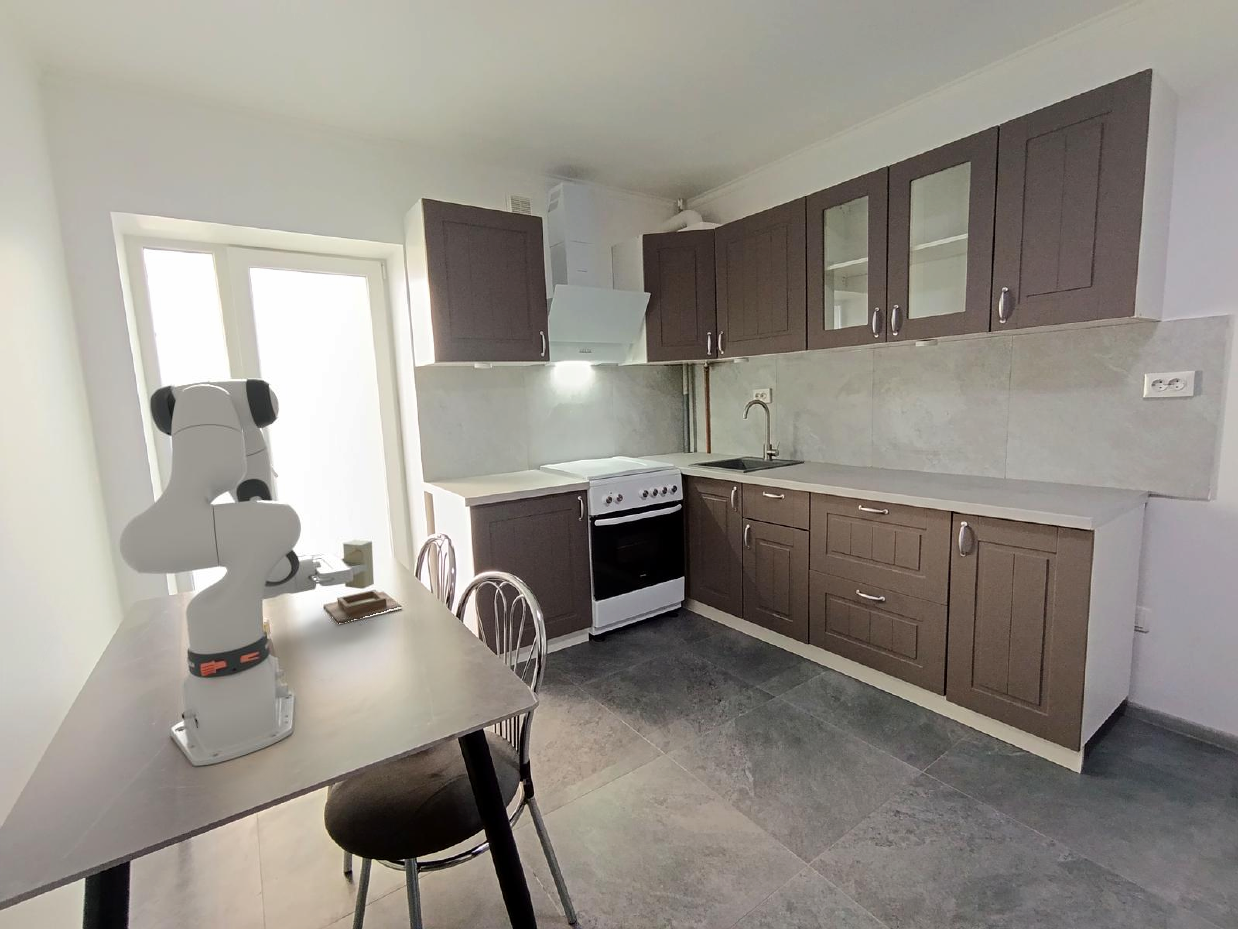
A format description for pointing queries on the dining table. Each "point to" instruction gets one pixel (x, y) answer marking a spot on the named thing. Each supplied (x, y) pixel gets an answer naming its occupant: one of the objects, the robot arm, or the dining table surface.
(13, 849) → the dining table surface
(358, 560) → the skincare box
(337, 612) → the brown box holder base
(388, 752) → the dining table surface
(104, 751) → the dining table surface
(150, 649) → the dining table surface
